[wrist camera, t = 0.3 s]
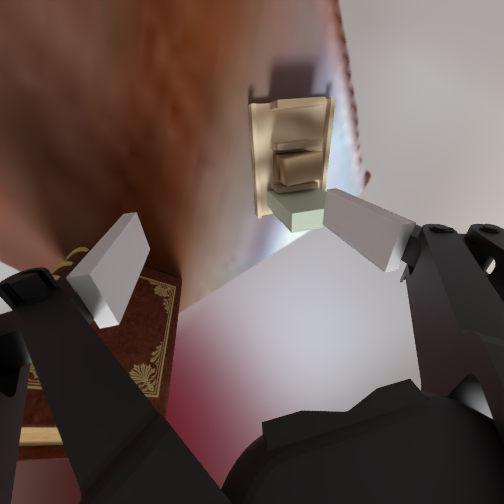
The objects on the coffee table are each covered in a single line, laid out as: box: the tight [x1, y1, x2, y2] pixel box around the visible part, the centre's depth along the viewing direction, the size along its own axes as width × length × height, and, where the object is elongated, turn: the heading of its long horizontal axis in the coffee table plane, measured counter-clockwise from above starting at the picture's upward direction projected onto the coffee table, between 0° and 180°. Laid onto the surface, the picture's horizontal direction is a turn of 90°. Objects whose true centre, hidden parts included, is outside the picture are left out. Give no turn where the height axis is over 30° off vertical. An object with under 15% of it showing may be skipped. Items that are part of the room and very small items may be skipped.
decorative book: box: [17, 247, 182, 462], centre depth 34 cm, size 22×8×30 cm, turn 58°
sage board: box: [267, 188, 327, 233], centre depth 38 cm, size 3×10×14 cm, turn 94°
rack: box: [248, 97, 335, 221], centre depth 39 cm, size 20×15×7 cm
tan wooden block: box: [273, 150, 309, 181], centre depth 40 cm, size 4×7×3 cm, turn 94°
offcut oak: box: [279, 150, 323, 186], centre depth 37 cm, size 4×7×3 cm
